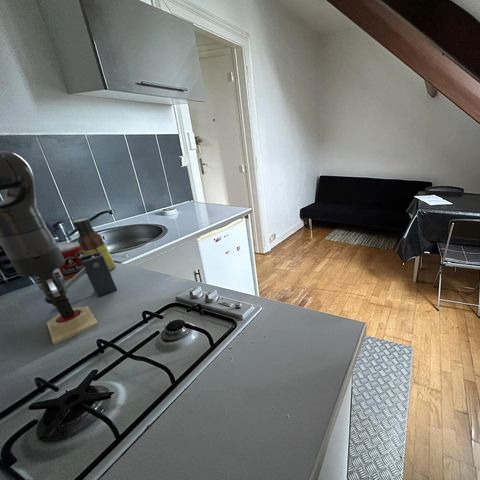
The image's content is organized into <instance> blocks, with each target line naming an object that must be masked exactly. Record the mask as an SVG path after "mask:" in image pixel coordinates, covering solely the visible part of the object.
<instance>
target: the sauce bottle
mask: <svg viewBox="0 0 480 480" xmlns="http://www.w3.org/2000/svg"><path fill="white" fill-rule="evenodd" d="M72 224H73V226H74V227H75V228H76V231H77V233H78V239H77V242H78V243H79V244H80V246H81V248H82V251H83V253H84V255H85V256H86V255H89V254H93V253H96V252H99V253H100V255H102V256H103V258H104V260H105V262H106V265H107V267H108V269H109V272H111V271H113V270H115V268H116V263H115V261H114V259H113V257H112V255H111V253H110V250H109V249H108V246H107V245H106V242H105V241H104V239H103V236H102V235H101V234H100V233H98V232H97V231H95V229H94V228H93V227H92V224H91V220H90V218H89V217H83V218H78V219H75V220H73V221H72Z"/></svg>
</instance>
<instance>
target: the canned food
mask: <svg viewBox="0 0 480 480" xmlns="http://www.w3.org/2000/svg"><path fill="white" fill-rule="evenodd" d="M57 245H58V247H59V249H60V251H61V253H62V255H63V257H64V259H65V264H64V265H63V266H62V267H60V268H58V270H59V273H60V275H61V277H62V279H63V280H65V281H69V280H71V279H72V278H73V277H74V276H75V275H76V274H77V273H78V272H79V271H81V270H82V269H83V268H84V267H83V265H82V262H81V260H80V258H79V257H82V256H85V255H84V253H83V251H82V248H81V246H80V244H79V243H78V241H70V242H66V243H62V244H57ZM84 275H87V273H85V274H84Z"/></svg>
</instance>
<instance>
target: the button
mask: <svg viewBox="0 0 480 480" xmlns="http://www.w3.org/2000/svg"><path fill="white" fill-rule="evenodd" d="M73 311H74V315H71V316H69V317H67V318H62V316H59V317H58V319H57V321H58V323H62V322H66V321H69V320H71V319H74V318H75V317H77V316H78V315H79V314H80V312H79V311H78V310H73Z"/></svg>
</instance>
